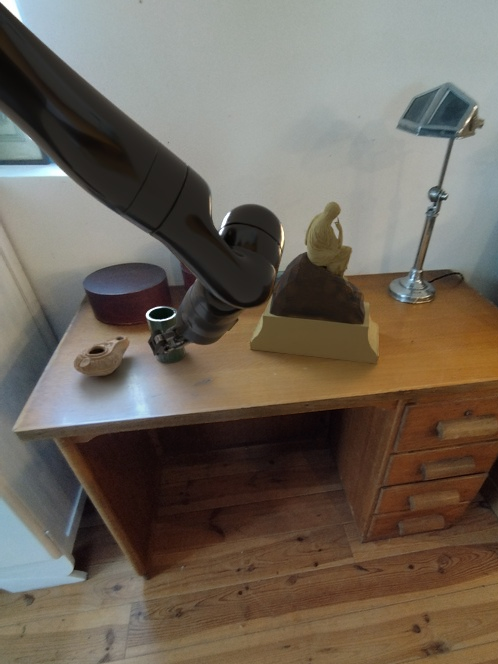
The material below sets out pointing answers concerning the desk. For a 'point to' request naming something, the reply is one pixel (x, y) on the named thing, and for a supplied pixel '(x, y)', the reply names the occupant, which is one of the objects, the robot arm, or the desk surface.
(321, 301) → the seated thinker statue
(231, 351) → the desk surface
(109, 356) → the pottery oil lamp
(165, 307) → the pot
